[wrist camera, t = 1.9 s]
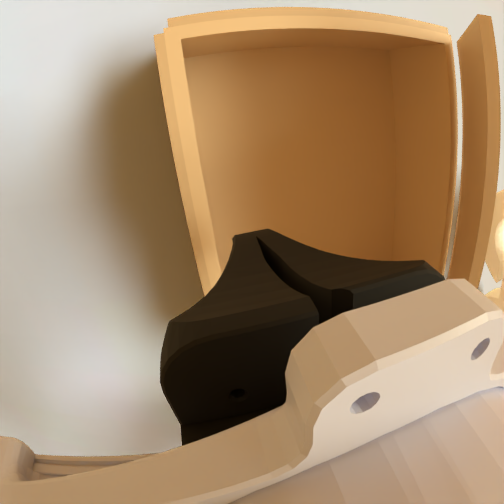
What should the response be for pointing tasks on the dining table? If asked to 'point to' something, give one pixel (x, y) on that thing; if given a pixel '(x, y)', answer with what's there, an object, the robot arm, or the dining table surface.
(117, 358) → the dining table surface
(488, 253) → the letter
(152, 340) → the dining table surface
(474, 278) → the carton flap
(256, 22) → the carton
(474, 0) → the dining table surface
